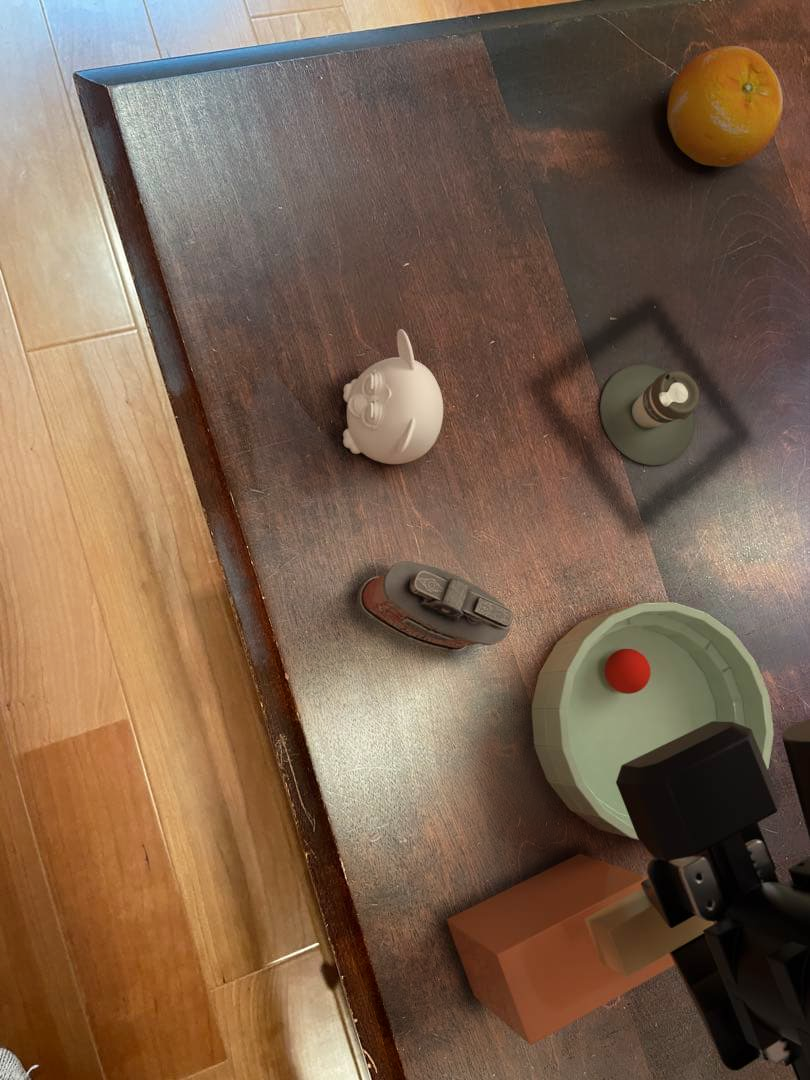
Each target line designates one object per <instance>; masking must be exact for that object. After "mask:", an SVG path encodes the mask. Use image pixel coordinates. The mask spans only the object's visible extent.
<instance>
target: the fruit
mask: <svg viewBox="0 0 810 1080" xmlns="http://www.w3.org/2000/svg"><path fill="white" fill-rule="evenodd" d="M783 97H784V96H783V90H782V85H781V83H780V80H779V78H778V76H777V74H776V72H775V71H774V69H773V68H772V66H771V65H770V64H769V62H768V61H767V60H766V59H765V58H764V57H763V56H762V55H761V54H760V53H758V52H757V51H755V50H753V49H751V48H749V47H745V46H738V45H725V46H719V47H716V48H712V49H711V50H708V51H704V52H703V53H701V54H699V55H697V56H695V57H694V58H693V59H691V60H690V61H689V62H688V63H687V64H686V65H685V66H684V67H683V68H682V69H681V70H680V72H679V73H678V74H677V76H676V77H675V80H674V82H673V84H672V86H671V89H670V93H669V96H668V101H667V109H666V111H667V114H666V118H667V126H668V129H669V131H670V134H671V136H672V138H673V140H674V143H675V145H676V147H678V148H679V150H681V152H682V153H683V154H684V155H686V156H687V157H689V158H690V159H692V160H693V161H694V162H696V163H698V164H700V165H703V166H709V167H717V168H718V167H720V168H724V167H725V168H729V167H733V166H736V165H740V164H742V163H744V162H747V161H749V160H750V159H752V158H754V157H756V156H757V155H759V154H760V153H761V152H762V151H763V150H764V149H765V148H766V147H767V146H768V144H769V143H770V141H772V138H773V137H774V135H775V133H776V131H777V129H778V127H779V124H780V121H781V119H782V116H783V109H784V108H783V107H784V99H783Z"/></svg>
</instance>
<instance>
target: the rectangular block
mask: <svg viewBox="0 0 810 1080" xmlns="http://www.w3.org/2000/svg"><path fill="white" fill-rule="evenodd" d="M648 878H649V876H648V875H646V874H642V873H640V872H637V871H633V870H630V869H627V868H624V867H621V866H618V865H616V864H613V863H610V862H606V861H603V860H600V859H597V858H595V857H592V856H588V855H586V854H582V853H578V854H576V855H574V856H572V857H570V858H567V859H566V860H564V861H562V862H559V863H557V864H556V865H554V866H552V867H549V868H547V869H545V870H544V871H542V872H539V873H538V874H536V875H534V876H531V877H529V878H527V879H525V880H522V882H519V883H517V884H516V885H513V886H510V887H508V888H507V889H505V890H503V891H501V892H499V893H497V894H495V895H493V896H491V897H488V898H487V899H485V900H483V901H481V902H478V903H477V904H475V905H473V906H470V907H469V908H466V909H464V910H462V911H461V912H459V913H456V914H455V915H452V916H450V917H448V918H446V923H447V926H448V928H449V932H450V934H451V937H452V940H453V942H454V945H455V947H456V950H457V953H458V956H459V959H460V961H461V964H462V967H463V970H464V973H465V975H466V978H467V980H468V983H469V986H470V989H471V991H472V993H473V997H474V998H476V1000H478V1001H479V1002H480V1003H481V1004H482V1005H484V1006H485V1007H486V1008H487V1009H488V1010H490V1011H491V1012H492V1013H493V1014H494V1015H495V1016H496V1017H497V1018H499V1019H500V1020H501V1021H502V1022H503V1023H504V1024H505V1025H506V1026H508V1027H509V1028H510V1029H511V1030H512V1031H513V1032H514V1033H516V1035H518V1036H519V1037H520V1038H522V1040H523V1041H525V1042H526V1043H527V1044H528V1045H529V1046H532V1045H534V1044H536V1043H538V1042H539V1041H541V1040H543V1039H544V1038H547V1037H548V1036H551V1035H552V1034H554V1033H555V1032H557V1031H559V1030H561V1029H563V1028H565V1027H566V1026H568V1025H570V1024H572V1023H573V1022H575V1021H578V1020H579V1019H581V1018H582V1017H585V1016H586V1015H587V1014H589V1013H592V1012H593V1011H595V1010H597V1009H598V1008H601V1007H602V1006H604V1005H605V1004H608V1003H609V1002H611V1001H613V1000H614V999H616V998H619V997H620V996H622V995H625V993H627V992H629V991H631V990H633V989H635V988H636V987H638V986H640V985H641V984H643V983H645V982H647V981H649V980H651V979H652V978H654V977H656V976H658V975H659V974H661V973H663V972H665V971H667V970H668V969H670V968H672V967H674V966H676V965H675V963H674V961H673V959H672V957H671V955H670V953H669V954H667V955H665V956H663V957H662V958H660V959H658V960H656V961H655V962H653V963H651V964H649V965H648V966H646V967H644V968H642V969H641V970H639V971H637V972H635V973H634V974H632V975H630V976H628V977H625V976H623V975H621V974H620V973H618V972H616V971H614V970H613V969H611V968H609V967H607V966H606V965H604V964H602V963H601V960H600V958H599V955H598V953H597V950H596V947H595V945H594V942H593V940H592V937H591V934H590V932H589V929H588V927H587V924H586V922H585V918H587V917H589V916H591V915H593V914H594V913H596V912H598V911H600V910H602V909H604V908H606V907H607V906H609V905H611V904H613V903H615V902H617V901H619V900H620V899H622V898H624V897H626V896H628V895H630V894H632V893H633V892H635V891H637V890H639V889H641V888H642V885H641V882H643V881H645V880H646V879H648Z"/></svg>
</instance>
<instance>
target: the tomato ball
mask: <svg viewBox="0 0 810 1080" xmlns="http://www.w3.org/2000/svg"><path fill="white" fill-rule="evenodd" d="M650 674H651V670H650V665H649V663H648V661H647V659H646V658H645V656H644V655H642V654H641V653H640V652H638V651H636V650H633V649H621V650H618V651H616V652H614V653H613V654H612V655H611V656H610V657H609V658H608V660H607V662H606V664H605V677H606V679H607V682H608V683H609V685H610V686H611V687H612V688H613V689H615V690H616V691H618V692H621V693H625V694H632V693H636V692H638V691H640V690H642V689H643V688H644V687H645V686H646V685H647V683H648V681H649V679H650Z"/></svg>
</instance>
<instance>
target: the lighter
mask: <svg viewBox="0 0 810 1080" xmlns="http://www.w3.org/2000/svg"><path fill="white" fill-rule="evenodd" d="M356 600H357V601H356V603H357V607H358V609H359V611H360V612H361V613H362V614H363V615H364V616H366V617H367V618H368V619H370V620H372V621H373V622H374V623H376V625H379V626H380V627H381V628H383V629H385V630H387V631H388V632H390V633H393V634H394V635H397V636H398V637H401V638H402V639H403V640H406V641H410V642H412V643H415V644H418V645H421V646H424V647H426V648H431V649H435V650H439V651H443V652H448V653H455V652H460V651H462V650H464V649H466V648H467V647H470V646H475V645H483V646H492V645H496V644H498V643H501V642H502V641H503V640H504V639H505V638H506V637H508V634H509V632H510V630H511V626H512V624H513V623H514V618H515V615H514V614H515V613H514V612H513V610H512V609H511V608H508V607H507V606H506V605H505V604H504V603H503V602H501V601H500V600H498V599H497V598H496V597H495V596H493V595H491V594H490V593H489V592H487V591H486V590H485V589H483V588H481V587H480V586H477V585H475V584H474V583H473V582H470V581H468V580H467V579H465V578H463V577H461V576H459V575H456V574H454V573H452V572H448V571H446V570H442V569H441V568H437V567H434V566H432V565H428V564H423V563H419V562H415V561H410V560H402V561H399V562H397V563H394V564H393V565H392V566H391V567H389V568H388V569H387V571H386V572H385V573H384V574H381V575H380V576H374V577H371V578H369V579H367V580H366V581H365V582H364V583H363V584H361V586H360V588H359V590H358V592H357V597H356Z"/></svg>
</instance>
